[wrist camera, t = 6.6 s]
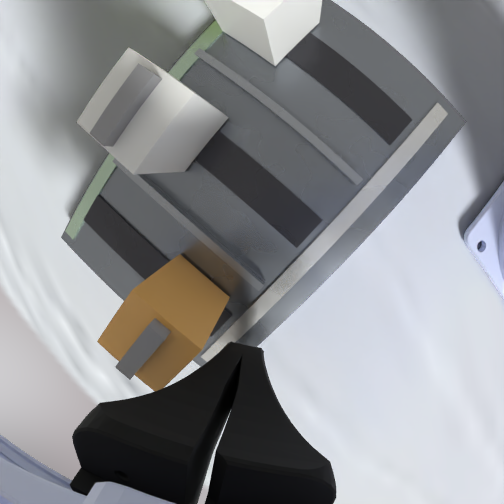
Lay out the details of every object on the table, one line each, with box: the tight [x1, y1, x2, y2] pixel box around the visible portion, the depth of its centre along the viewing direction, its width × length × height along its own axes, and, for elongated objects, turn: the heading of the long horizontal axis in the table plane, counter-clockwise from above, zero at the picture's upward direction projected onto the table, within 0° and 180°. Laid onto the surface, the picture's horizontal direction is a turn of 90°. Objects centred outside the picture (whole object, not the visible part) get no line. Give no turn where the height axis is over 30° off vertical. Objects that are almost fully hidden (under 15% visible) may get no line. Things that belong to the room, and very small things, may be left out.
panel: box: [61, 0, 466, 367], centre depth 12 cm, size 10×15×2 cm, turn 139°
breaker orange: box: [97, 254, 230, 391], centre depth 11 cm, size 3×3×4 cm
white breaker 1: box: [76, 47, 228, 175], centre depth 9 cm, size 3×3×4 cm
